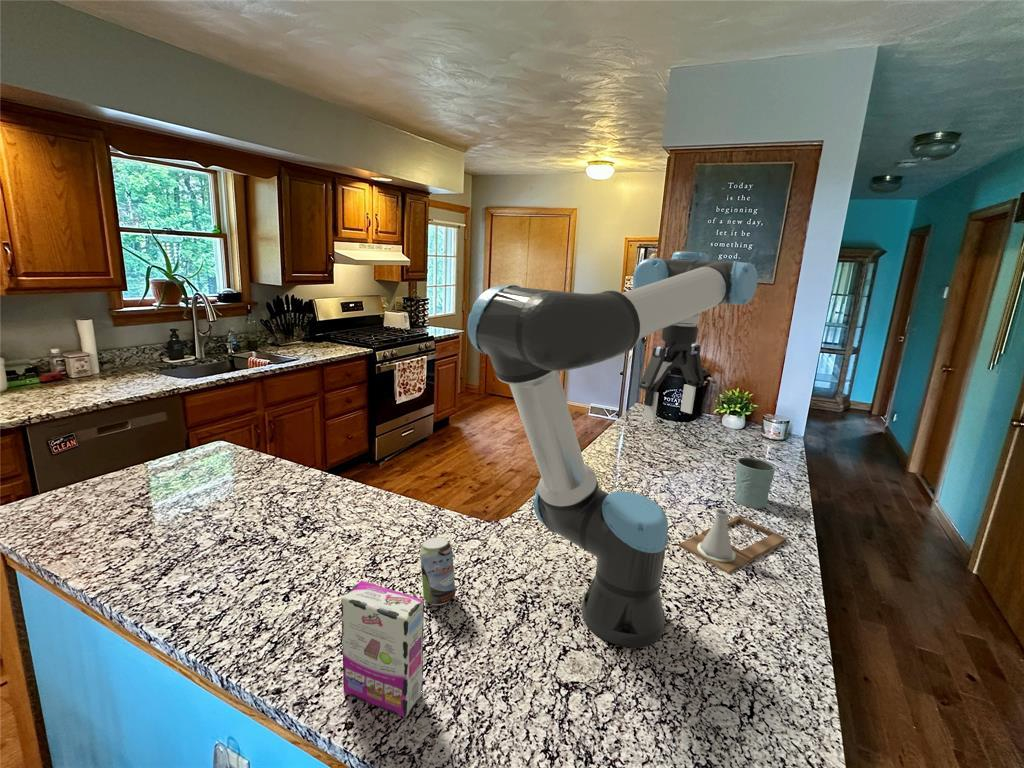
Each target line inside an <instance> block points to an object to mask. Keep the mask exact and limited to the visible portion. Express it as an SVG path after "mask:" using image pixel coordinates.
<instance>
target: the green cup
mask: <svg viewBox="0 0 1024 768" xmlns="http://www.w3.org/2000/svg"><path fill="white" fill-rule="evenodd" d="M735 472H736V473H735V475H736V478H735V482H734V483H735V486H734V493H733V495H734V497H733V499H734V501H735V502H736V503H737V504H739V505H741V506H743V507H747V508H750V509H757V510H758V509H764V508H766V506H767V503H768V500H769V494H770V493H769V492H770V491H771V485H772V483H773V479H774V475H775V472H776V466H775V465H774V464H773V463H771V462H770V461H767V460H763V459H760V458H756V457H745V456H744V457H740V458H737V460H736V469H735Z"/></svg>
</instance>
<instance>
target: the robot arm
mask: <svg viewBox="0 0 1024 768" xmlns="http://www.w3.org/2000/svg"><path fill="white" fill-rule="evenodd" d="M632 276H633V277H632V283H633V286H634V289H633V288H632V289H631V290H628V291H627V290H626V291H624V292H622V291H619V290H614V289H612V290H611V289H610V290H604V291H602V292H601V291H600V292H598V293H580V292H579V293H578V292H570V291H561V290H550V289H549V290H548V289H542V288H531V287H523V286H520V285H517V284H509V285H497V286H493V287H489V288H488V289H487V290H485V291H484V292H482V293H481V294H480V295H479V296H478V298H476V300H474V303H473V305H472V309H471V312H470V313H469V315H468V319H467V336H468V339H469V341H470V343H471V345H472V346H473V347H474V348H475V350H476V351H478V352H479V353H481V354H483V355H485V356H486V355H487V356H488V357H489V360H490V362H491V365H492V368H493V370H494V373H495V377H496V378H497V380H499V381H500V382H502V383H504V384H507V385H508V386H509V388H510V391H511V395H512V396H513V400H514V402H515V405H516V408H517V411H518V414H519V418H520V420H521V422H522V425H523V428H524V432H525V433H526V436H527V437H526V438H527V440H528V442H529V446H530V449H531V450H532V453H533V457H534V460H535V462H536V466H537V468H538V471H539V474H540V476H541V477H540V479H539V481H538V484H537V486H536V489H535V491H534V494H535V496H536V497H534V498H533V510H534V514H535V516H536V517H537V519H538V521H539V522H540V523H541V524H542V525H544V526H545V527H546V528H547V529H548V530H549V531H551V532H552V533H554V534H557V535H559V536H561V538H562V537H563V538H564V539H565V540H567V541H569V542H571V543H572V544H574V545H576V546H577V547H579V548H581V549H582V550H584V551H586V552H588V553H589V554H591V555H593V556H594V557H595V558H596V565H595V566H596V569H595V575H594V576H593V579H592V580H591V583H590V584H589V587H588V588H587V590H586V592H585V595H584V596H583V600H582V607H581V616H582V618H583V621H584V623H585V625H586V626H587V628H589V630H590V631H591V632H592V633H594V635H596V636H597V637H599V638H601V640H604V641H606V642H609V643H610V644H613V645H616V646H620V647H625V648H643V647H648V646H650V645H653V644H655V643H656V642H658V641H659V640H660V639H661V638H662V636H663V633H664V629H665V623H666V614H665V611H664V607H663V602H662V596H661V592H660V591H661V590H660V589H661V587H660V586H661V580H662V573H663V569H664V568H663V567H664V561H665V556H666V555H665V554H666V550H667V545H668V542H669V541H668V540H669V538H668V537H669V536H668V531H669V520H668V518H667V514H666V513H665V511H664V509H662V507H661V506H660V505H659V504H658V503H656V502H655V501H653V500H652V499H650V498H649V497H647V496H645V495H643V494H639V493H635V492H634V493H632V492H630V491H625V490H621V491H620V490H618V491H613V492H611V493H609V492H606V491H604V490H602V488H600V485H599V481H598V478H597V477H598V476H597V475H596V472H595V470H594V469H593V468H592V467H591V466H590V465H589V464H586V463H585V460H584V458H583V454H582V451H581V446H580V442H579V440H578V435H577V432H576V429H575V426H574V422H573V419H572V415H571V412H570V408H569V404H568V401H567V398H566V394H565V389H564V387H563V384H562V380H561V377H560V373H559V372H562V371H572V370H577V369H581V368H586V367H590V366H593V365H596V364H599V363H602V362H605V361H607V360H608V361H609V360H610V359H613V358H616V357H618V356H621V355H623V354H625V353H628V352H630V351H631V350H632V349H634V347H635V346H636V345H637V344H638V342H639V341H640V340H641V339H643V338H645V337H647V336H649V335H652V334H654V333H657V332H659V331H661V340H663V342H664V345H663V346H659V345H654V347H653V349H652V350H653V351H652V355H651V357H650V359H649V362H648V365H647V366H646V368H645V371H644V374H643V375H642V378H641V381H640V382H639V384H638V387H639V389H641V390H643V391H645V392H644V402H643V404H644V408H643V418H642V419H644V420H647V421H650V422H655V421H656V415H657V408H658V399H659V392H658V389H659V387H660V385H661V384H662V383H663V381H664V380H665V378H666V376H667V375H668V373H669V372H670V371H671V370H672V369H673V368H675V367H679V368H680V370H681V372H682V374H683V377H684V380H685V382H686V383H687V384H683V390H682V398H681V405H680V411H681V412H683V413H687V414H689V415H691V414H693V408H694V401H695V397H696V389H697V387H698V388H701V387H702V383H703V382H704V381H705V379H704V373H703V372H704V371H703V367H702V361H701V360H702V358H701V345H699V344H696V342H697V341H698V333H699V327H698V326H697V325H698V324H699V323H700V319H701V313H702V312H705V311H707V310H709V309H712V308H715V307H717V306H720V305H722V304H723V305H725V304H726V305H731V306H733V305H735V306H737V305H739V306H741V305H746V304H748V303H750V301H751V300H752V299H753V298H754V296H755V293H756V290H757V287H758V271H757V268H756V267H755V266H754V264H752V263H750V262H741V261H737V260H733V261H719V260H718V261H717V260H715V261H714V260H713V261H712V260H711V261H710V260H709V255H708V254H707V253H705V252H700V251H699V252H697V251H696V252H695V251H681V250H680V251H674V253H672V256H671V258H670V259H669V258H667V259H665V258H661V257H654V258H651V257H649V258H646V259H644V260H642V261H640V262H639V263H638V264H637V265H636V267H635V269H634V272H633V275H632ZM680 411H679V412H680Z"/></svg>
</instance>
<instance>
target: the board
mask: <svg viewBox="0 0 1024 768" xmlns="http://www.w3.org/2000/svg"><path fill="white" fill-rule="evenodd" d="M738 523H742V524H743V525H746V526H747V527H750V528H751V529H753V530H756V531H758V532H761V533H762V534H764V535H766V537H764V538H763V539H761V540H758V541H757V542H754V543H753V544H750V545H749V546H747V547H745V548H743V549H741V550H740V549H739V548H737V547H735V546H734V545H731V547H732V556H731V558H718V557H715V556H711V555H708V554H706V553H705V552H704V551H703V550H702V549H701V547H700V546H701V544H702V541H703V540H704V538H705V537H706V535H707V534H708V532H709V530H710V529H711V527H710V528H708V529H706V530H704V531H701V533H700V534H697V535H695V536H692V537H691V538H688V539H686V540H684V541H682V542H679V543H678V547H680V548H682V549H684V550H686V551H688V552H689V553H691V554H692V555H694V556H696V557H698V558H699V559H702V560H704V561H705V562H707V563H709V564H710V565H712V566H713V567H716V568H717V569H719V570H721V571H723V572H725V573H726V574H730V573H732V572H734V571H736V570H738V569H739V568H741V567H743V566H745V565H747V564H749V563H750V562H752V561H754V560H756V559H758V558H760V557H761V556H763V555H765V554H767V553H768V552H771V551H773V550H774V549H776V548H777V547H778V548H779V547H780V546H783V544H785V543H787V541H788V537H785V536H783V535H781V534H779V533H778V532H776V531H775V532H774V531H772V530H770V529H768V528H766V527H763V526H761V525H760V524H757V523H755V522H753V521H751V520H748V519H746V518H744V517H741V516H740V515H737V516H736V517H733V518H731V519H729V520H727V524H728V528H729V527H731V526H734V525H736V524H738Z"/></svg>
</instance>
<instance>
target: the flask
mask: <svg viewBox="0 0 1024 768" xmlns="http://www.w3.org/2000/svg"><path fill="white" fill-rule="evenodd" d="M714 513H715V519H714V521H713V524H712V525H711V527H710V528H711V529H710V528H709V529H710V530H709V532H708V534H707V535H706V537H705V538H704V540H703V541H702V544H701V546H700V547H701V549H702V550H703V551H704V552H705V553H706V554H708V555H711V556H715V557H718V558H731V556H732V547H731V546H732V543H731V538H730V534H729V533H730V532H729V529H728V528H729V527H728V524H727V521H728V519H729V517H730V515H731V513H730V511H729V510H727V509H725V508H724V509H723V508H716V509H715V511H714Z"/></svg>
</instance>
